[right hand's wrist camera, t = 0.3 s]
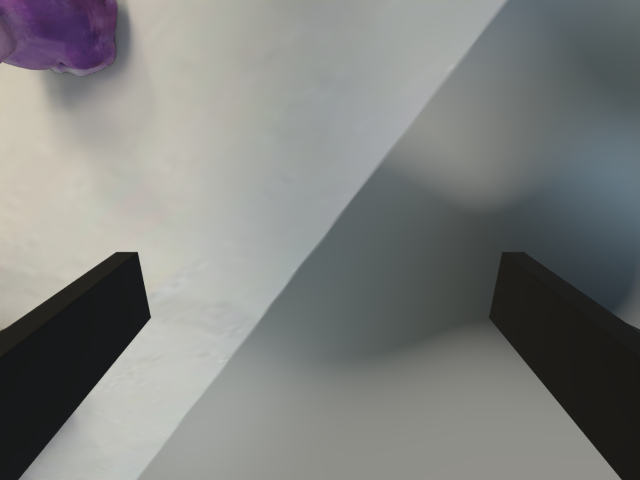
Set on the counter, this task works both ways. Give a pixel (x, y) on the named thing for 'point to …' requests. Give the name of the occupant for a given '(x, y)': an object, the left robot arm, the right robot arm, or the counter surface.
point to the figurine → (58, 34)
